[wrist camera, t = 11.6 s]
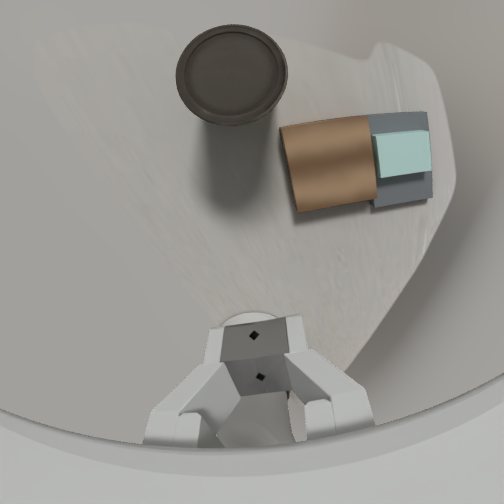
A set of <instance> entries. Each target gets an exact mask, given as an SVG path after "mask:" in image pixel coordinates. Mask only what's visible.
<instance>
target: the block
mask: <svg viewBox="0 0 504 504" xmlns="http://www.w3.org/2000/svg"><path fill="white" fill-rule="evenodd" d="M371 140H372V147H373V155H374V163H375V171H376V175H377V176H379V177H380V178H384V177H390V176H397V175H403V174H410V173H417V172H424V171H432V166H431V151H430V140H429V131H424V130H415V131H403V132H393V133H383V134H374V135H371Z"/></svg>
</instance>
